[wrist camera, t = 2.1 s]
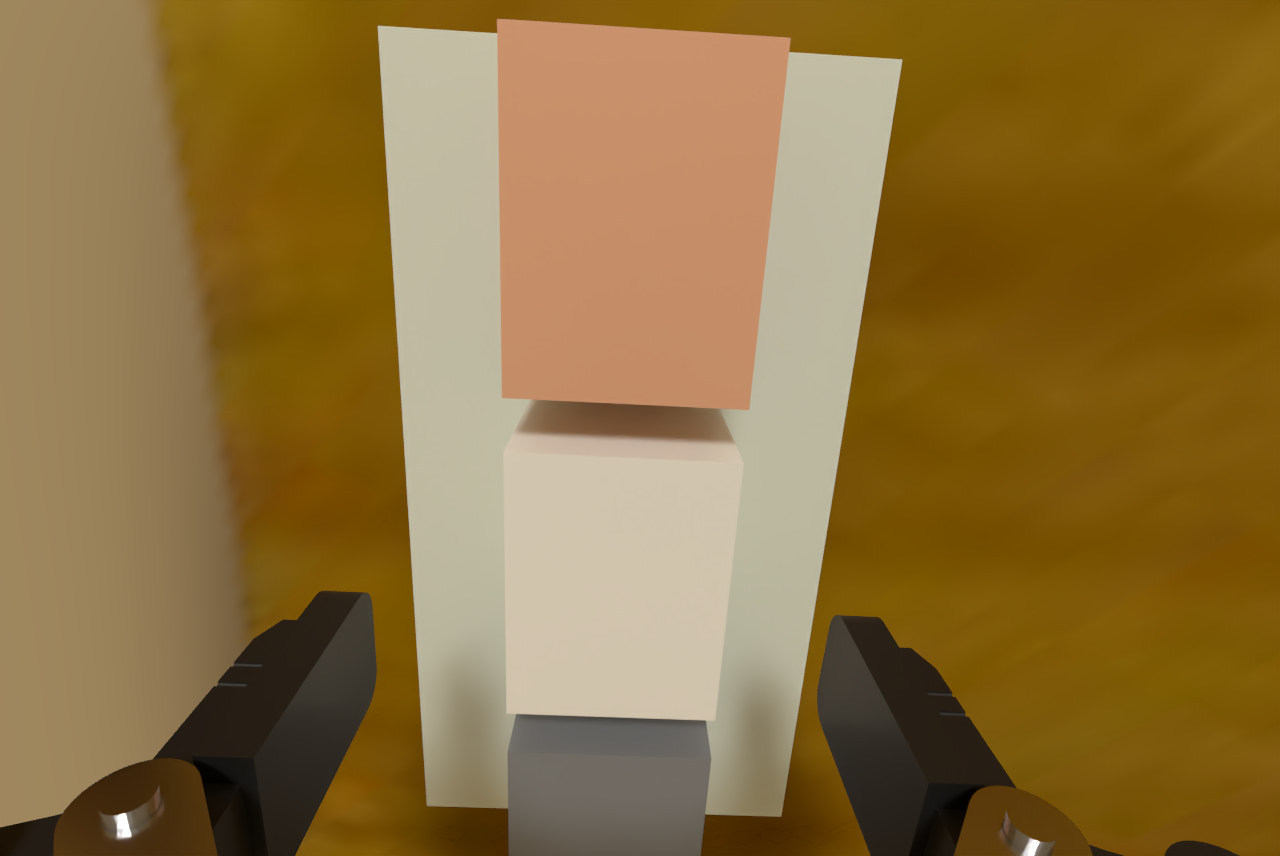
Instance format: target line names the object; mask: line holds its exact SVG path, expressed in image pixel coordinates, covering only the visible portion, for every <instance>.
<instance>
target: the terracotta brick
mask: <svg viewBox="0 0 1280 856" xmlns="http://www.w3.org/2000/svg"><path fill="white" fill-rule="evenodd" d="M790 39H791V38H785V37H769V36H754V35H738V34H723V33H708V32H692V31H677V30H661V29H646V28H631V27H615V26H600V25H585V24H569V23H554V22H538V21H523V20H508V19H497V48H498V127H499V206H500V285H501V364H502V398H510V399H531V400H552V401H573V402H593V403H614V404H635V405H655V406H676V407H697V408H718V409H738V410H749V407H750V398H751V389H752V380H753V371H754V362H755V353H756V344H757V335H758V326H759V317H760V308H761V299H762V290H763V281H764V272H765V263H766V254H767V245H768V236H769V227H770V219H771V210H772V201H773V192H774V183H775V174H776V165H777V156H778V147H779V138H780V129H781V120H782V111H783V102H784V93H785V84H786V75H787V66H788V57H789V48H790Z"/></svg>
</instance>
